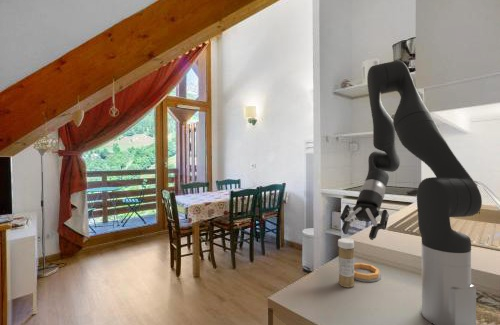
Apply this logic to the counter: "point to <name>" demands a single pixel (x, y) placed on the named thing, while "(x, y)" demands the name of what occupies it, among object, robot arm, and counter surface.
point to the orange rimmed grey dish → (366, 273)
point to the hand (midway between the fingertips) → (357, 235)
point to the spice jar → (346, 262)
